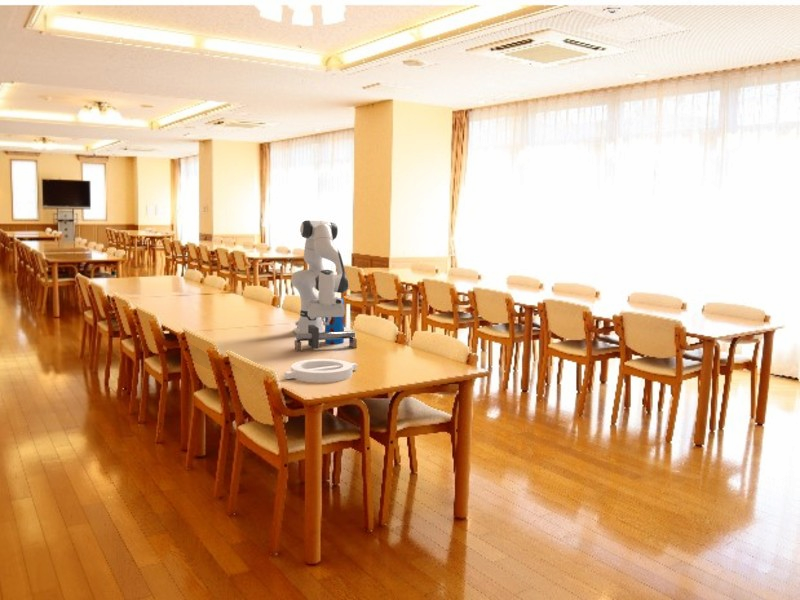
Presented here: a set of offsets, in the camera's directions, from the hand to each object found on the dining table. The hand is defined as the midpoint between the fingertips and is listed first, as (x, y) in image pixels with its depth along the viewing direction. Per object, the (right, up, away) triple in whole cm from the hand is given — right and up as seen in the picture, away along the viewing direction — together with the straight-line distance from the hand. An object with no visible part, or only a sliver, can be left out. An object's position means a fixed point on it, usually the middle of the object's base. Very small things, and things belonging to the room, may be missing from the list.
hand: (326, 325), depth 364 cm
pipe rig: (0, -13, +1) cm, 13 cm away
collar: (-7, -12, -2) cm, 13 cm away
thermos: (+3, -11, +19) cm, 22 cm away
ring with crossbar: (+5, -21, -58) cm, 62 cm away
